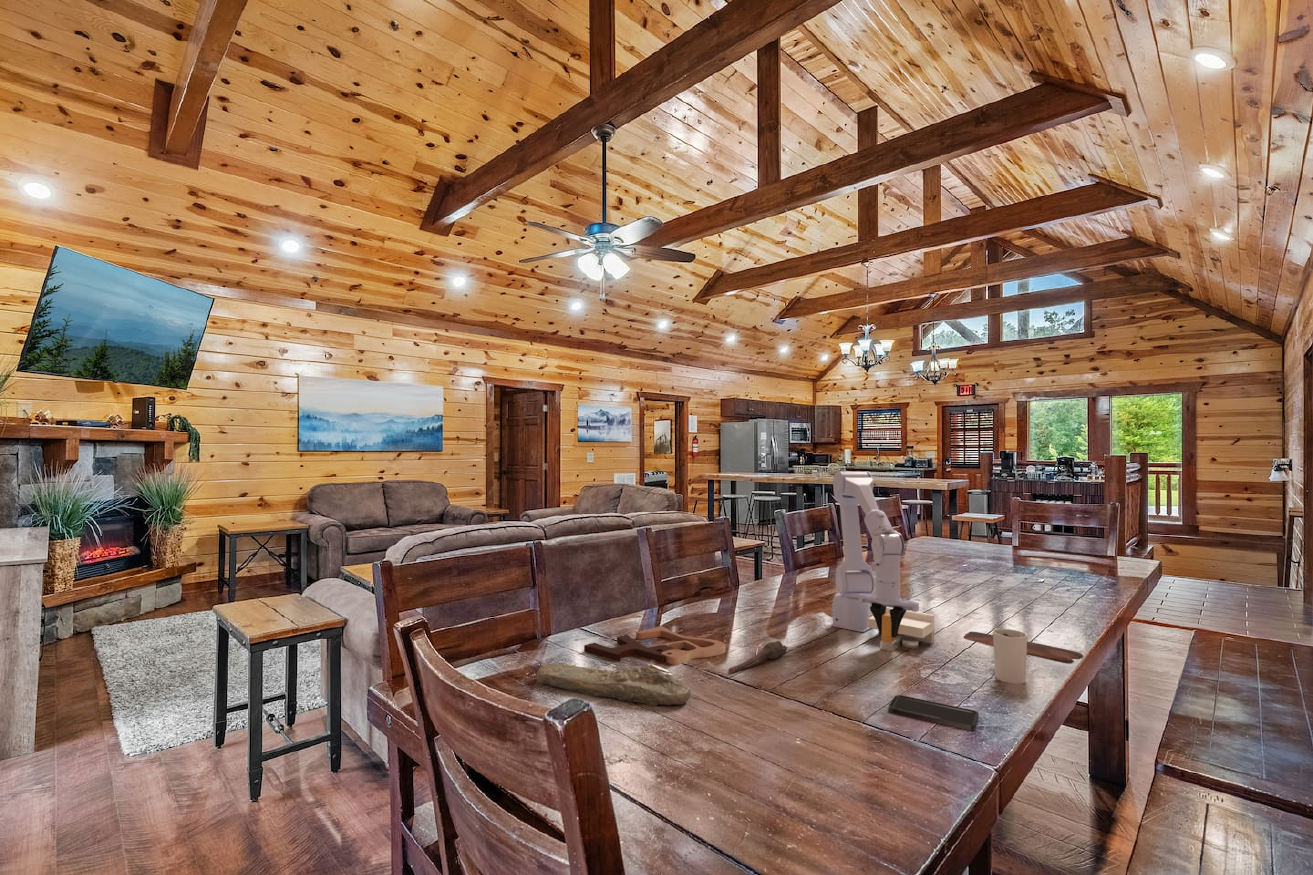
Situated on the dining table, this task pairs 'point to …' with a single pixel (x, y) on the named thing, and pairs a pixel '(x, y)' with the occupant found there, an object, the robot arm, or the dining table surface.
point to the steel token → (909, 642)
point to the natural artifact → (763, 655)
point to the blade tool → (889, 635)
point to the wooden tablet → (1031, 648)
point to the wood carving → (659, 647)
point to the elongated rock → (617, 683)
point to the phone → (934, 712)
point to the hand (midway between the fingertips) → (888, 635)
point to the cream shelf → (912, 625)
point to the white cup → (1010, 655)
